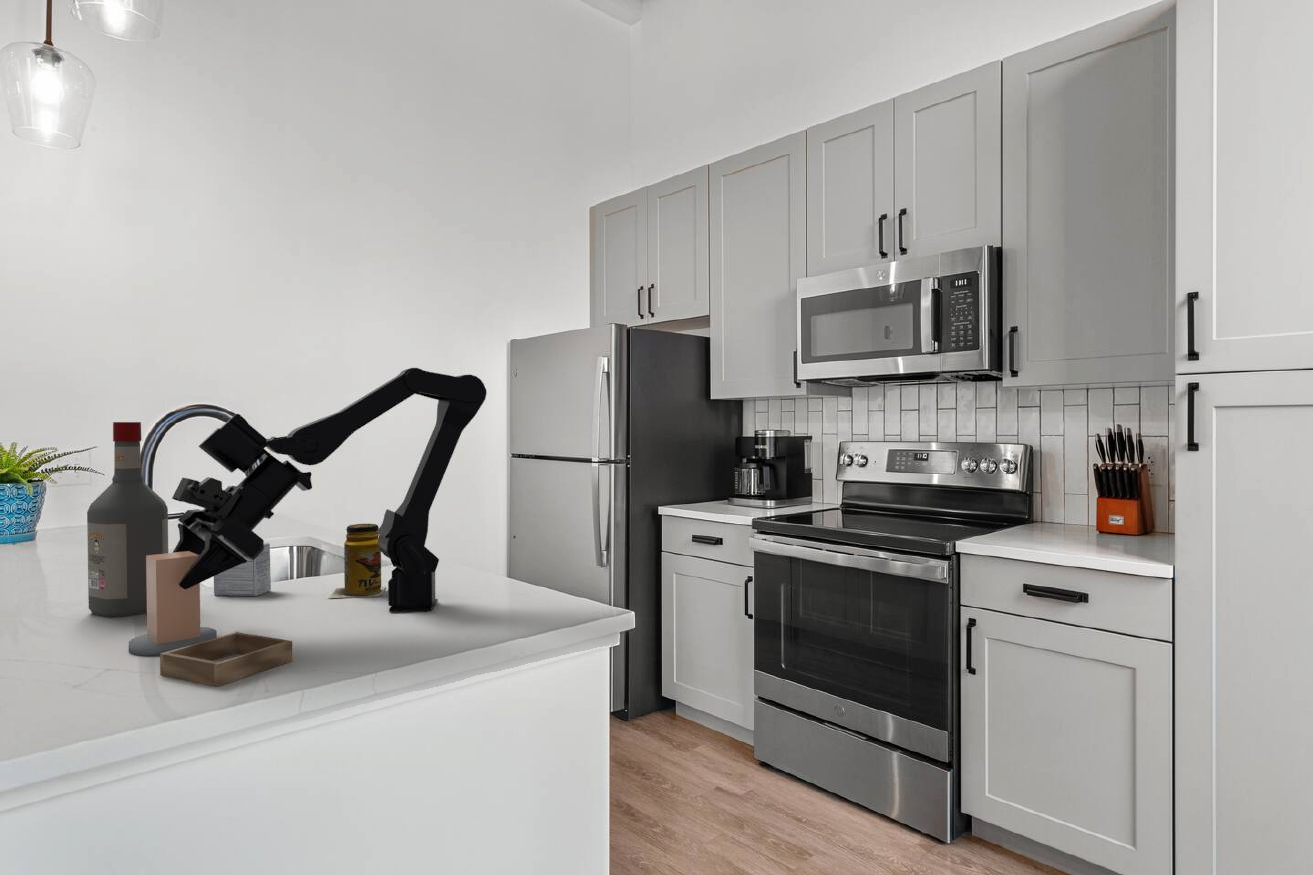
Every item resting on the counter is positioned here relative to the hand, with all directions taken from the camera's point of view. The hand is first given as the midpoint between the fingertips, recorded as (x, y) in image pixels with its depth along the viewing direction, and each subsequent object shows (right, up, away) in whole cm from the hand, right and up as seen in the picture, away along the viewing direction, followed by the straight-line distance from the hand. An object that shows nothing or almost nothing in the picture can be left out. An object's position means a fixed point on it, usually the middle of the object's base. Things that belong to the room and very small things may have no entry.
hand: (171, 582), depth 101 cm
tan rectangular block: (0, -7, 0) cm, 7 cm away
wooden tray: (+13, -9, -9) cm, 18 cm away
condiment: (+13, -8, +31) cm, 34 cm away
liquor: (-19, -8, +19) cm, 28 cm away
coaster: (0, -8, 0) cm, 8 cm away
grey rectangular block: (-7, -8, +31) cm, 33 cm away
